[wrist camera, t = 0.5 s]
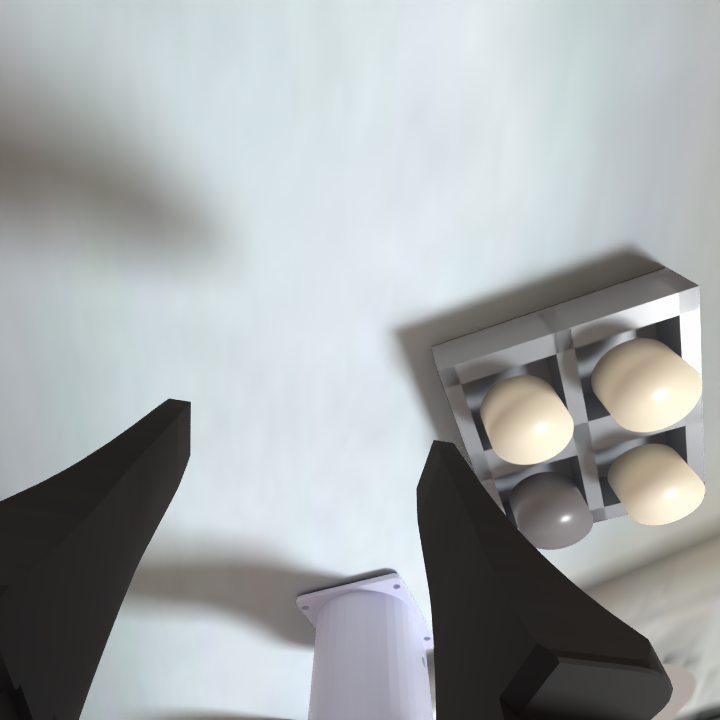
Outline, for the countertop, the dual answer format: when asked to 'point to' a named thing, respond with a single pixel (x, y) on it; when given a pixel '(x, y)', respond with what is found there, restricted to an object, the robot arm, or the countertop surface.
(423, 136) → the countertop surface
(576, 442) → the button board
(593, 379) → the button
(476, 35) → the countertop surface
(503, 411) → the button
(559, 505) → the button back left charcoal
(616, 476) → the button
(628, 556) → the countertop surface
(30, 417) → the countertop surface
